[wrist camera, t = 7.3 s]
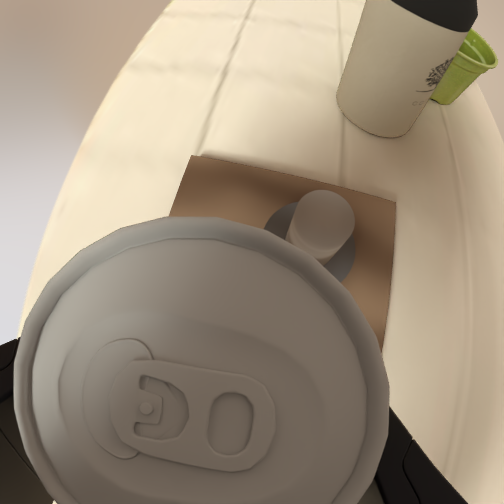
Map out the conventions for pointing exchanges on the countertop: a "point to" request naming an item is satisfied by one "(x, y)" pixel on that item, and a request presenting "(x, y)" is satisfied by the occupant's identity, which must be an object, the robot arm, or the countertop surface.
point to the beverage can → (199, 373)
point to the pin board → (287, 189)
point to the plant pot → (465, 68)
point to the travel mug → (400, 60)
